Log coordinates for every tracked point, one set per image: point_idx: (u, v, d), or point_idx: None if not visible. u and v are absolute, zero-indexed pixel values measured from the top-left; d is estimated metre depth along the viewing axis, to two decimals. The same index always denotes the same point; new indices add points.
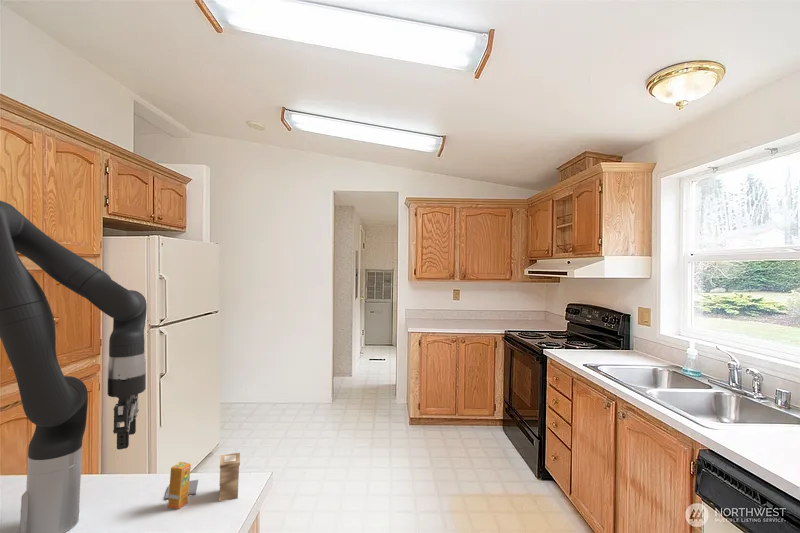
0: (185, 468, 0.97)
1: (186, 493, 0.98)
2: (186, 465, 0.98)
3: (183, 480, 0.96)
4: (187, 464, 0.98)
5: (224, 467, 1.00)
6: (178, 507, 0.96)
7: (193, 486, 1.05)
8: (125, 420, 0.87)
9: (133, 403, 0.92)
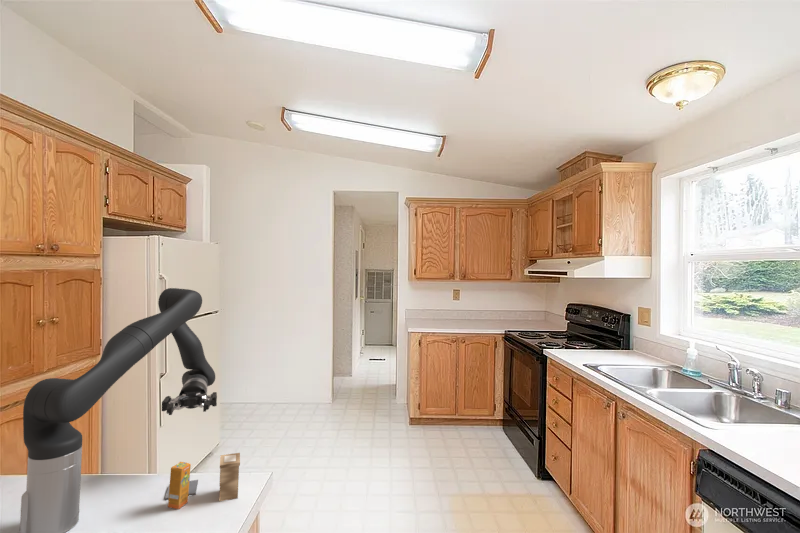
0: (185, 468, 0.97)
1: (186, 493, 0.98)
2: (186, 465, 0.98)
3: (182, 480, 0.96)
4: (187, 464, 0.98)
5: (224, 467, 1.00)
6: (178, 507, 0.96)
7: (193, 486, 1.05)
8: None
9: None
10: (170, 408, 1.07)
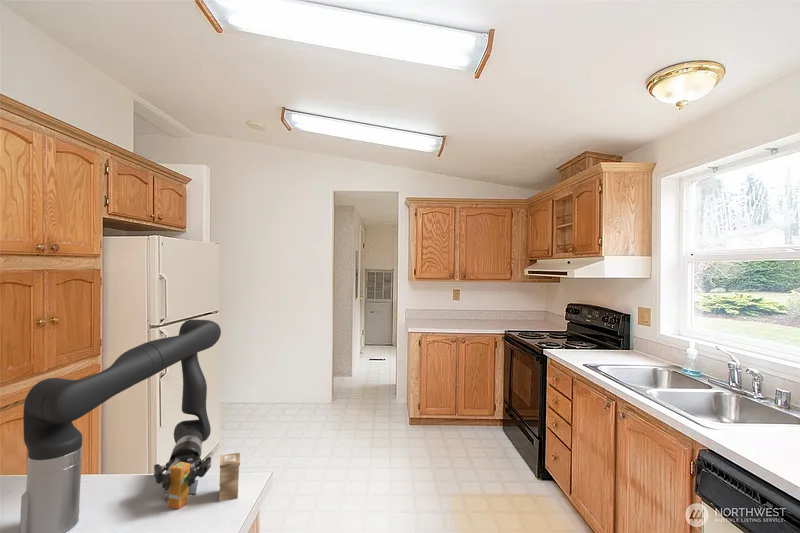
0: (185, 468, 0.97)
1: (186, 493, 0.98)
2: (186, 465, 0.98)
3: (182, 479, 0.96)
4: (187, 464, 0.98)
5: (224, 467, 1.00)
6: (178, 507, 0.96)
7: (193, 486, 1.05)
8: (206, 471, 1.04)
9: None
10: (166, 482, 0.94)
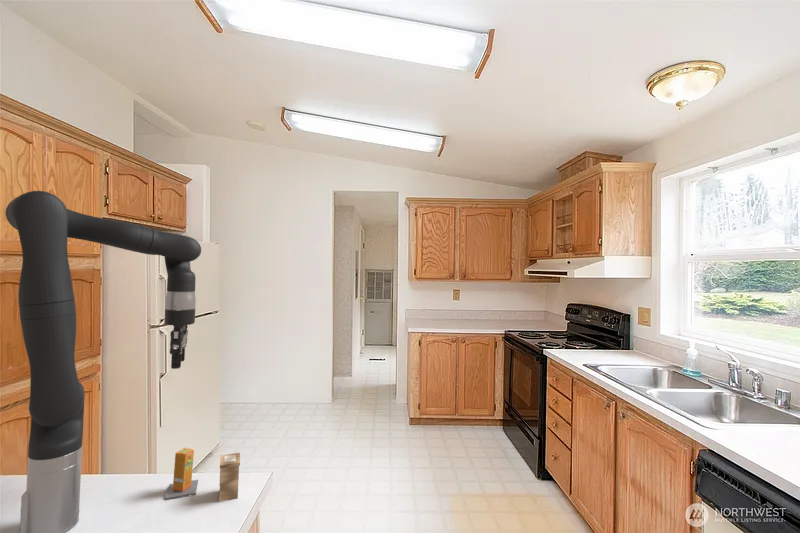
0: (189, 453, 1.04)
1: (190, 477, 1.05)
2: (189, 451, 1.04)
3: (186, 464, 1.03)
4: (190, 450, 1.05)
5: (224, 467, 1.00)
6: (182, 490, 1.02)
7: (193, 486, 1.05)
8: (179, 343, 1.04)
9: (185, 332, 1.09)
10: None
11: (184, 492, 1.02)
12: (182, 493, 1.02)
